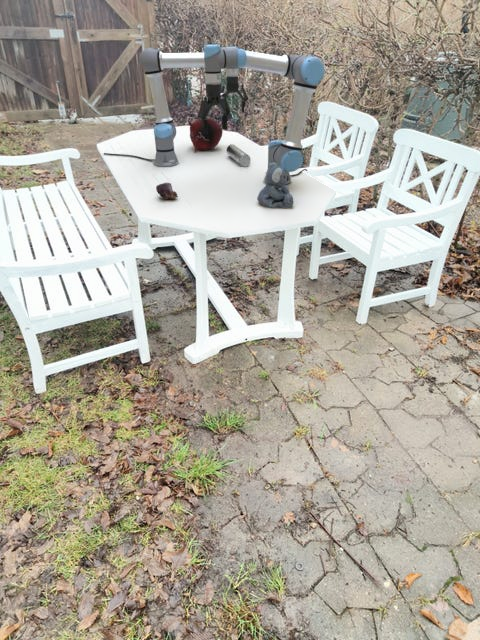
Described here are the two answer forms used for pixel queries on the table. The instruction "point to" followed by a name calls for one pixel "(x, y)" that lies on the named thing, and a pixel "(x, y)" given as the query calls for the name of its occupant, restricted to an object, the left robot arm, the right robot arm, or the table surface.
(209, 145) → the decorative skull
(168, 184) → the rock
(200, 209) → the table surface
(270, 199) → the koala plush
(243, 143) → the table surface
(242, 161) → the rod
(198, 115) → the right robot arm
